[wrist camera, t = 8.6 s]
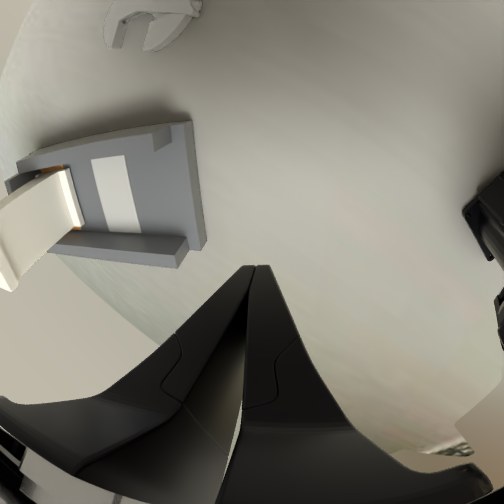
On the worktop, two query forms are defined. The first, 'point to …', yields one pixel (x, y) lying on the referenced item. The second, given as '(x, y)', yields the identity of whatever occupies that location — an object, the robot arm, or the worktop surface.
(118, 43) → the adjustable wrench
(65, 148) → the switch housing
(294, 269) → the worktop surface
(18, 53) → the worktop surface
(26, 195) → the switch tab
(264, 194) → the worktop surface
